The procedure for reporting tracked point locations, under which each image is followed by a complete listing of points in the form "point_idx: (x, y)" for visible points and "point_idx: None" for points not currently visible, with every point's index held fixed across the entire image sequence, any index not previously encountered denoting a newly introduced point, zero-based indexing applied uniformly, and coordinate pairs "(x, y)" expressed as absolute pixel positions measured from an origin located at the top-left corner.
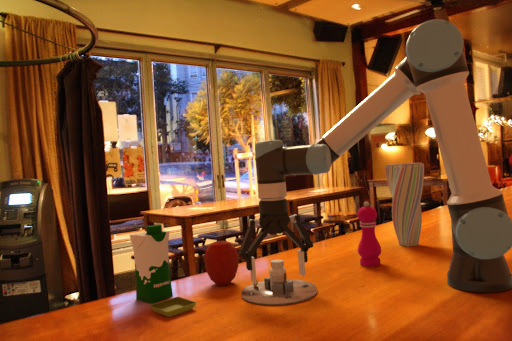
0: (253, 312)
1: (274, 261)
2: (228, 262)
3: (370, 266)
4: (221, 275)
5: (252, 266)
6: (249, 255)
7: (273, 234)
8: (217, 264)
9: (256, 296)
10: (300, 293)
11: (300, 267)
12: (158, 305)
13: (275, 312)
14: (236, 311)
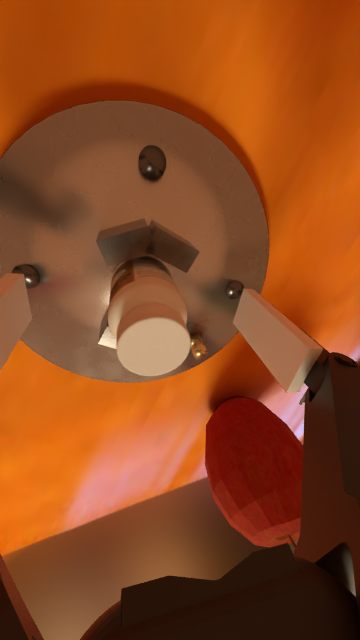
0: (316, 120)
1: (173, 344)
2: (265, 440)
3: None
4: (263, 409)
5: (293, 325)
6: (349, 362)
7: (253, 554)
8: (291, 437)
9: (238, 256)
10: (81, 183)
11: (14, 317)
12: None
13: (264, 41)
14: (340, 177)
